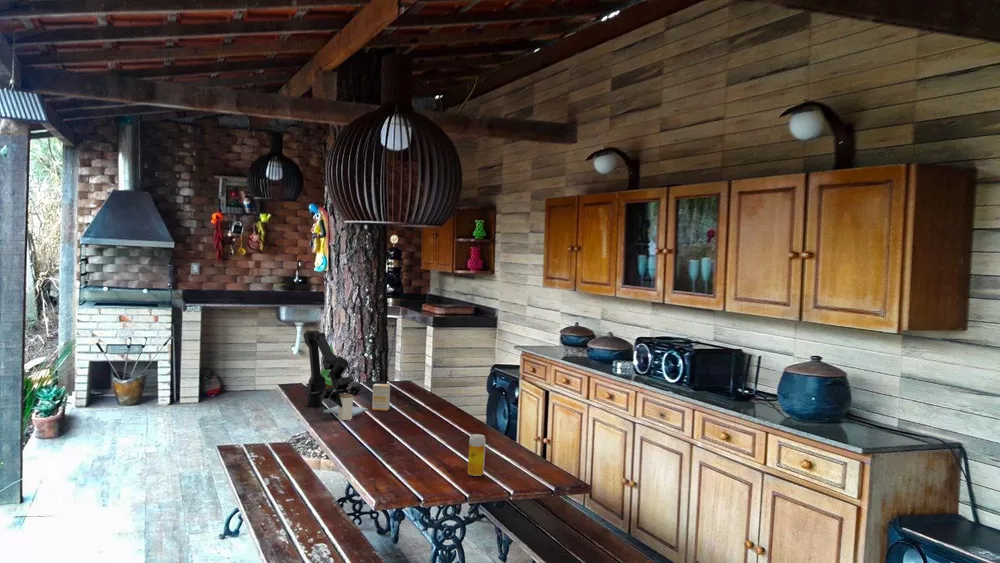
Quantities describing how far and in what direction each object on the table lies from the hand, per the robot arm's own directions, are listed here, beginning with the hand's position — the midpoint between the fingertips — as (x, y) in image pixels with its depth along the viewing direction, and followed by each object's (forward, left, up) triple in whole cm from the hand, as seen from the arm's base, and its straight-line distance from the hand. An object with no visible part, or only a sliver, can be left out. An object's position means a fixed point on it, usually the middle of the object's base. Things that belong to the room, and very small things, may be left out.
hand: (346, 406), depth 349 cm
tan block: (-1, +1, -7) cm, 7 cm away
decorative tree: (-38, +48, -7) cm, 62 cm away
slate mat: (-9, +16, -7) cm, 19 cm away
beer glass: (+85, -52, -7) cm, 100 cm away
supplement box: (+4, +29, -7) cm, 30 cm away
